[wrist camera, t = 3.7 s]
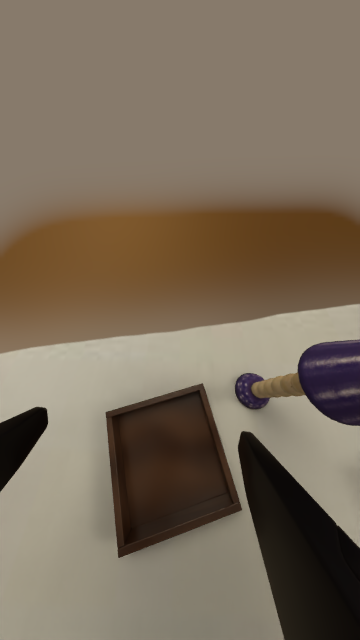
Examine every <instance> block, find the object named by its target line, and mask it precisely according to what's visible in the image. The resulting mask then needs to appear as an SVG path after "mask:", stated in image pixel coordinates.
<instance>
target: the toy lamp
mask: <svg viewBox="0 0 360 640" xmlns="http://www.w3.org/2000/svg"><path fill="white" fill-rule="evenodd" d="M235 392H236V395H237V397H238V399H239V401H240V402H241V403H242V404H243V405H245V406H246V407H248V408H251V409H259V408H262V407H264V406H265V405H266V404H267V403H268V401H269V399H270V398H271V397H281V396H283V397H289V396H302V395H306V396H307V398H308V399H309V400H310V402H311V403H312V404H313V405H314V406H315V407H316V408H317V409H318V410H319V411H320V412H321V413H323V414H324V415H325V416H327V417H329V418H330V419H332V420H335V421H337V422H339V423H342V424H346V425H352V426H360V340H348V341H335V342H325V343H320V344H316V345H313V346H311V347H310V348H308V349H307V350H306V351H304V353H303V354H302V356H301V357H300V360H299V364H298V372H297V373H296V374H287V375H285V376H278V377H276V378H270V379H268V380H264V379H263V378H262V377H260V376H259V375H256V374H252V373H246V374H243V375H241V376H240V377H239V378H238V379H237V381H236V384H235Z"/></svg>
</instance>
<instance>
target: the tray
mask: <svg viewBox="0 0 360 640" xmlns="http://www.w3.org/2000/svg"><path fill="white" fill-rule="evenodd" d="M106 418H107V419H106V420H107V432H108V443H109V455H110V466H111V478H112V490H113V501H114V513H115V524H116V536H117V547H118V558H120V557H123V556H125V555H128V554H130V553H133V552H136V551H138V550H141V549H143V548H146V547H148V546H151V545H154V544H156V543H159V542H161V541H164V540H166V539H169V538H172V537H174V536H177V535H179V534H182V533H184V532H187V531H189V530H192V529H195V528H197V527H200V526H202V525H205V524H207V523H210V522H213V521H215V520H218V519H220V518H223V517H225V516H228V515H230V514H233V513H236V512H238V511H241V510H242V507H241V504H240V502H239V498H238V495H237V491H236V488H235V485H234V482H233V479H232V475H231V472H230V469H229V466H228V463H227V459H226V456H225V453H224V450H223V447H222V443H221V440H220V437H219V434H218V431H217V427H216V424H215V421H214V418H213V415H212V411H211V408H210V405H209V402H208V399H207V395H206V392H205V389H204V386H203V383H202V384H199V385H195V386H192V387H189V388H185V389H182V390H179V391H175V392H172V393H169V394H165V395H162V396H159V397H155V398H152V399H149V400H145V401H142V402H139V403H135V404H132V405H129V406H125V407H122V408H119V409H115V410H112V411H108V412H106Z"/></svg>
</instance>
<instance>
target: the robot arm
mask: <svg viewBox="0 0 360 640" xmlns="http://www.w3.org/2000/svg"><path fill="white" fill-rule="evenodd" d="M47 425H48V415H47V409H46V408H43V407H35V408H33V409H31V410H28V411H26V412H24V413H22V414H19V415H17V416H15V417H13V418H11V419H8V420H6V421H4V422H2V423H0V492H1V490H2V489H3V488H4V486H5V485H6V484H7V483H8V481H9V480H10V479H11V478H12V476H13V475H14V474H15V472H16V471H17V470H18V469H19V467H20V466H21V464H22V463H23V462H24V460H25V459H26V457H27V456H28V454H29V453H30V451H31V450H32V448H33V447H34V446H35V444H36V443H37V441H38V440H39V438H40V437H41V435H42V434H43V432H44V431H45V429H46V427H47ZM238 452H239V458H240V464H241V469H242V475H243V481H244V486H245V491H246V496H247V500H248V504H249V508H250V512H251V515H252V519H253V523H254V527H255V530H256V534H257V538H258V542H259V545H260V549H261V553H262V557H263V560H264V564H265V568H266V572H267V575H268V579H269V583H270V587H271V590H272V594H273V598H274V602H275V605H276V609H277V613H278V617H279V620H280V624H281V628H282V632H283V635H284V639H285V640H360V548H359V547H358V546H357V545H356V544H355V543H354V542H353V541H352V540H351V539H350V537H349V536H348V535H347V534H346V533H345V532H344V531H343V530H342V529H341V528H340V527H339V526H337V525H336V523H335V521H334V520H333V519H332V518H331V517H330V516H329V515H328V514H327V513H326V512H325V511H324V510H323V509H322V508H321V506H320V505H319V504H318V503H317V502H316V501H315V500H314V499H313V498H312V497H311V496H310V495H309V494H308V493H307V491H306V490H305V489H304V488H303V487H302V486H301V485H300V484H299V483H298V482H297V481H296V480H295V479H294V478H293V476H292V475H291V474H290V473H289V472H288V471H287V470H286V469H285V468H284V467H283V466H282V465H281V464H280V463H279V461H278V460H277V459H276V458H275V457H274V456H273V455H272V454H271V453H270V452H269V451H268V450H267V449H266V448H265V446H264V445H263V444H262V443H261V442H260V441H259V440H258V439H257V438H256V437H255V436H254V435H253V434H252V433H251V432H245V431H243V432H241V435H240V440H239V445H238Z"/></svg>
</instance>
